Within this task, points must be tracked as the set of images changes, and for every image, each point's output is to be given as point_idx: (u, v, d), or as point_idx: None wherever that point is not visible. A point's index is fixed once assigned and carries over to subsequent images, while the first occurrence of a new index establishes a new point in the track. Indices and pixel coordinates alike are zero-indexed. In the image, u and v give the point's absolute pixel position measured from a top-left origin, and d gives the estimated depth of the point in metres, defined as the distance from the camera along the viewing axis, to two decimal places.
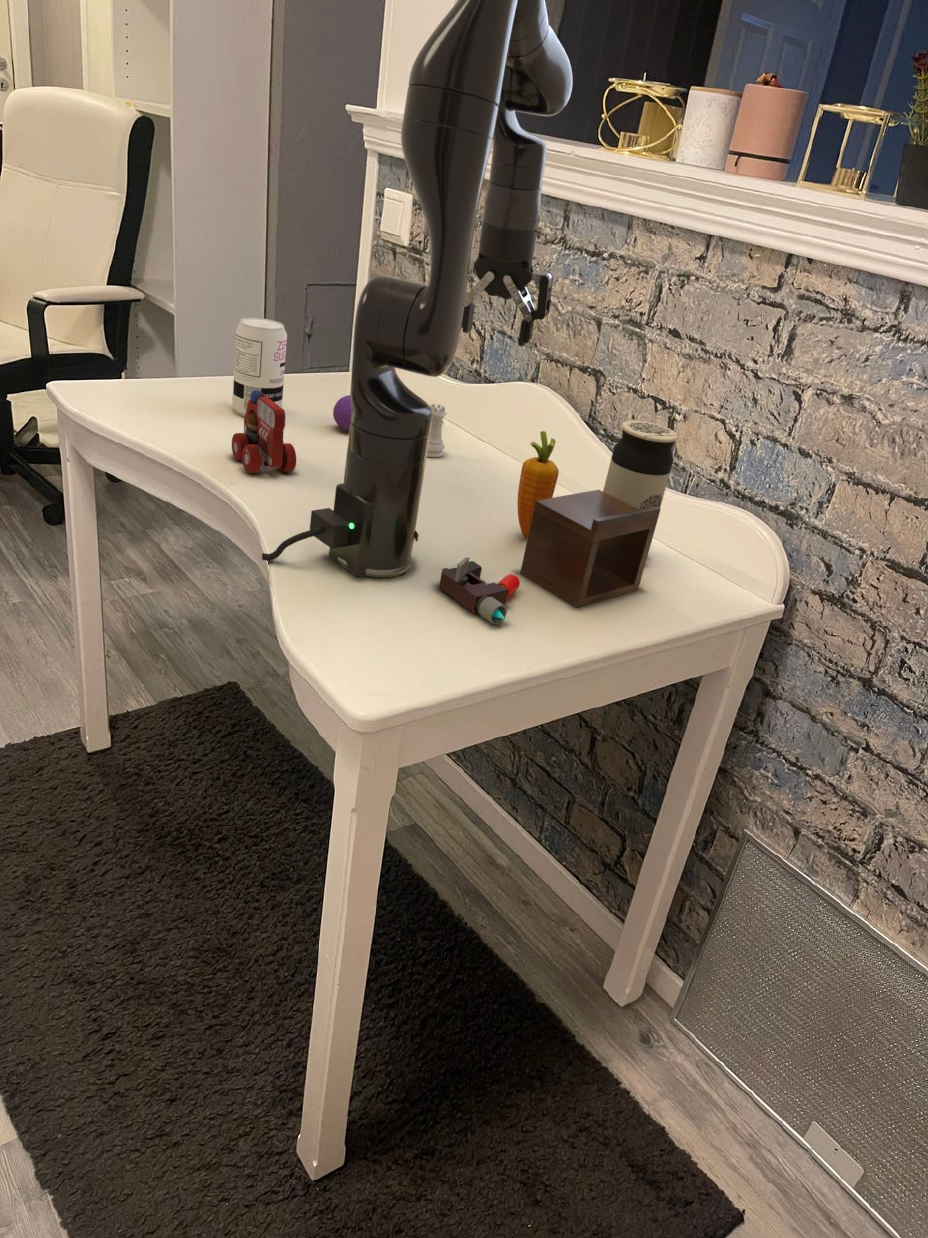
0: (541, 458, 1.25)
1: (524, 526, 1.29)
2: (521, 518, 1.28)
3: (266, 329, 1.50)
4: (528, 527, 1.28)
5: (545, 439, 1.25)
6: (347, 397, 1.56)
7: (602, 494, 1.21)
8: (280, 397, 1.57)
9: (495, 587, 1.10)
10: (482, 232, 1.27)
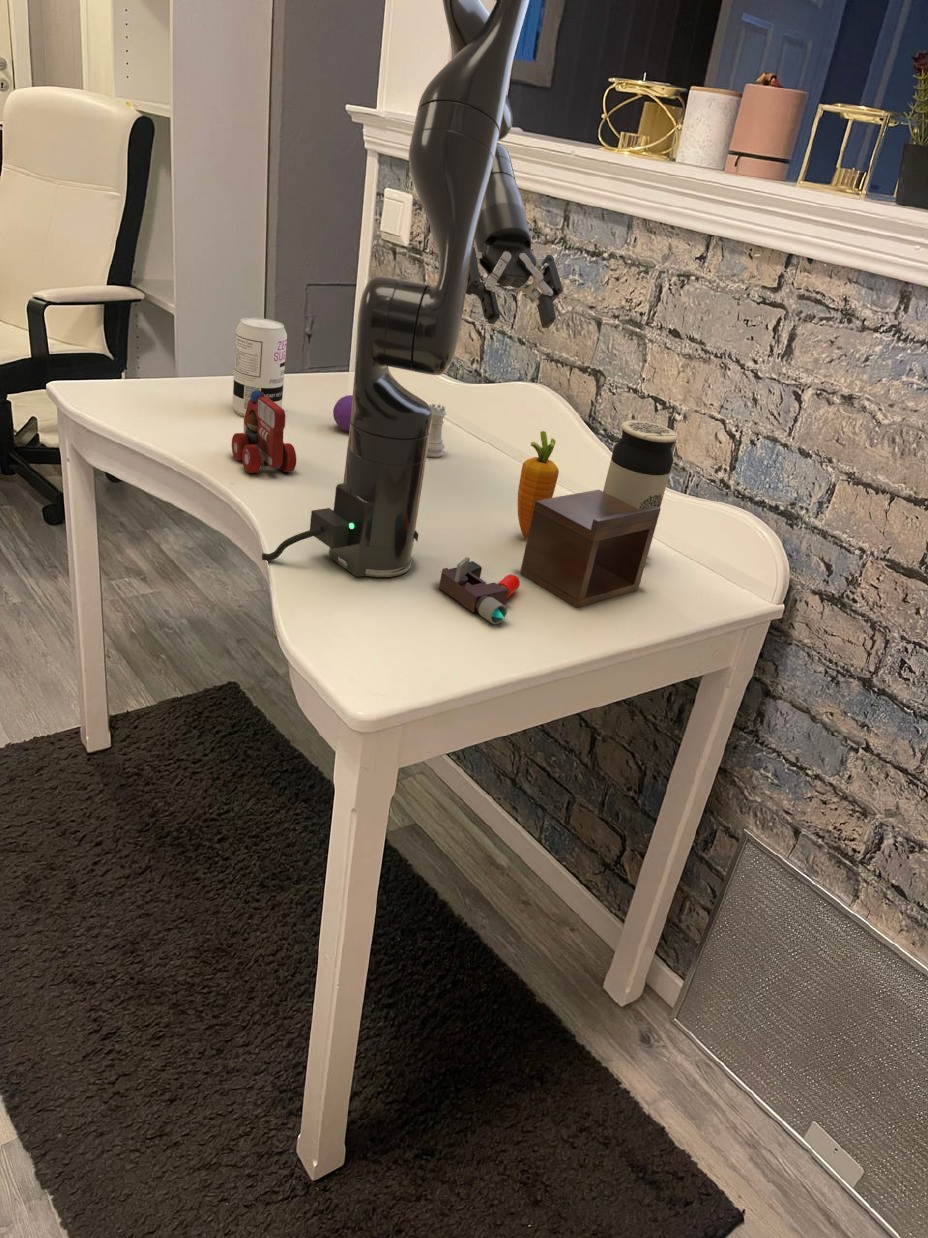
0: (541, 458, 1.25)
1: (524, 526, 1.29)
2: (521, 518, 1.28)
3: (266, 329, 1.50)
4: (528, 527, 1.28)
5: (545, 439, 1.25)
6: (347, 397, 1.56)
7: (602, 494, 1.21)
8: (280, 397, 1.57)
9: (495, 587, 1.10)
10: (488, 217, 1.27)
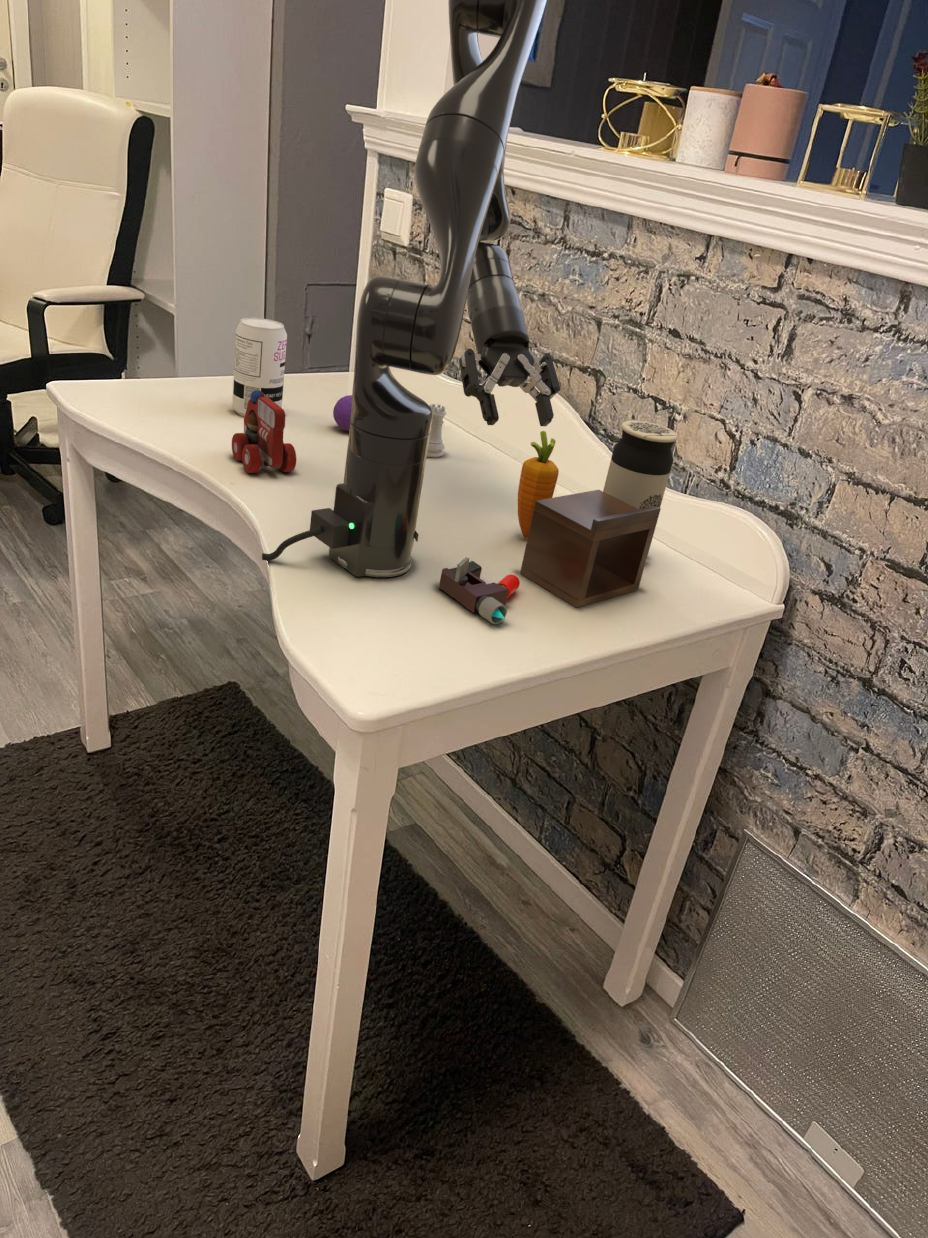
0: (541, 458, 1.25)
1: (524, 526, 1.29)
2: (521, 518, 1.28)
3: (266, 329, 1.50)
4: (528, 527, 1.28)
5: (545, 439, 1.25)
6: (347, 397, 1.56)
7: (602, 494, 1.21)
8: (280, 397, 1.57)
9: (495, 587, 1.10)
10: (487, 319, 1.29)
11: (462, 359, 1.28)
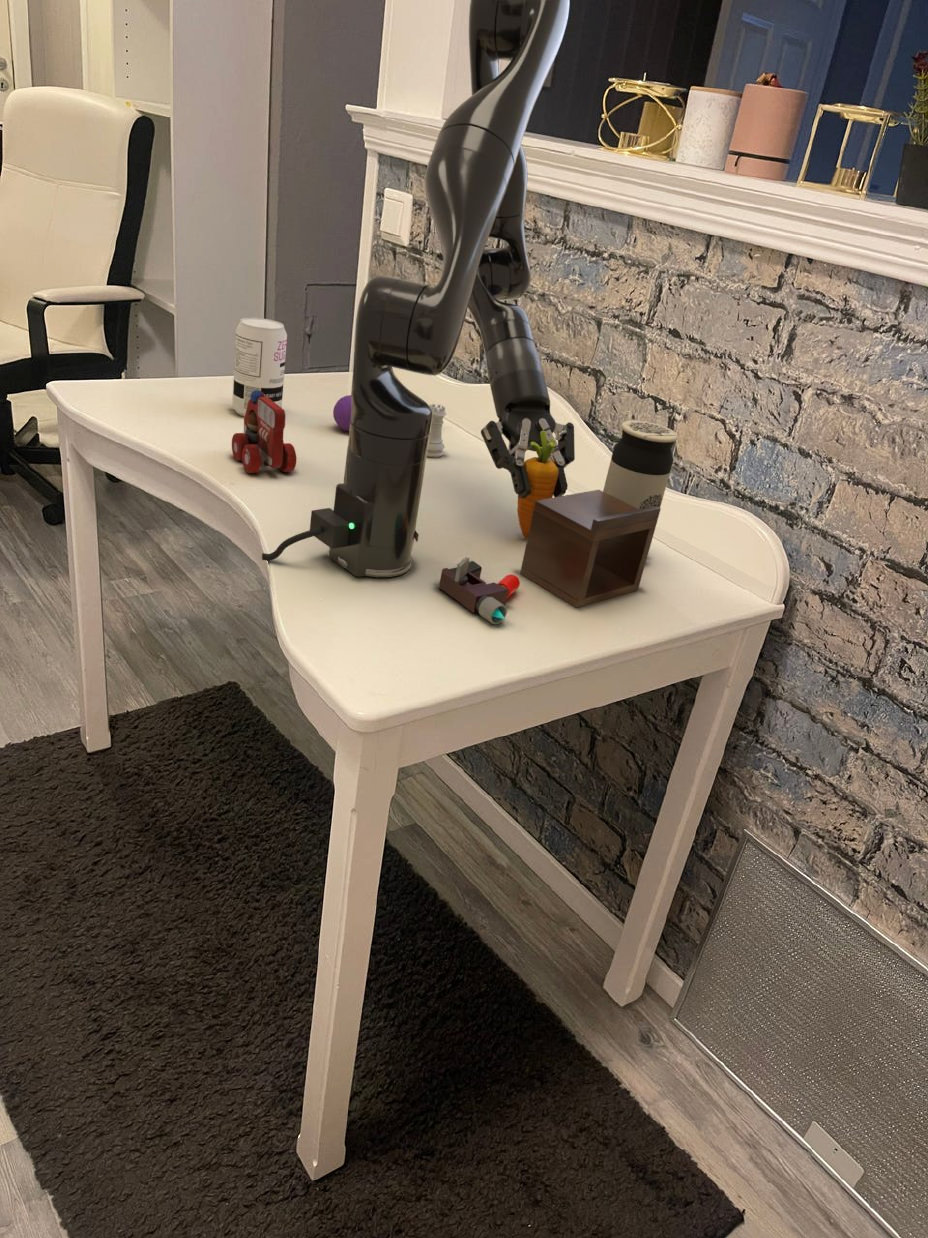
0: (541, 458, 1.25)
1: (524, 526, 1.29)
2: (521, 518, 1.28)
3: (266, 329, 1.50)
4: (528, 527, 1.28)
5: (545, 439, 1.25)
6: (347, 397, 1.56)
7: (602, 494, 1.21)
8: (280, 397, 1.57)
9: (495, 587, 1.10)
10: (507, 383, 1.26)
11: (485, 432, 1.25)
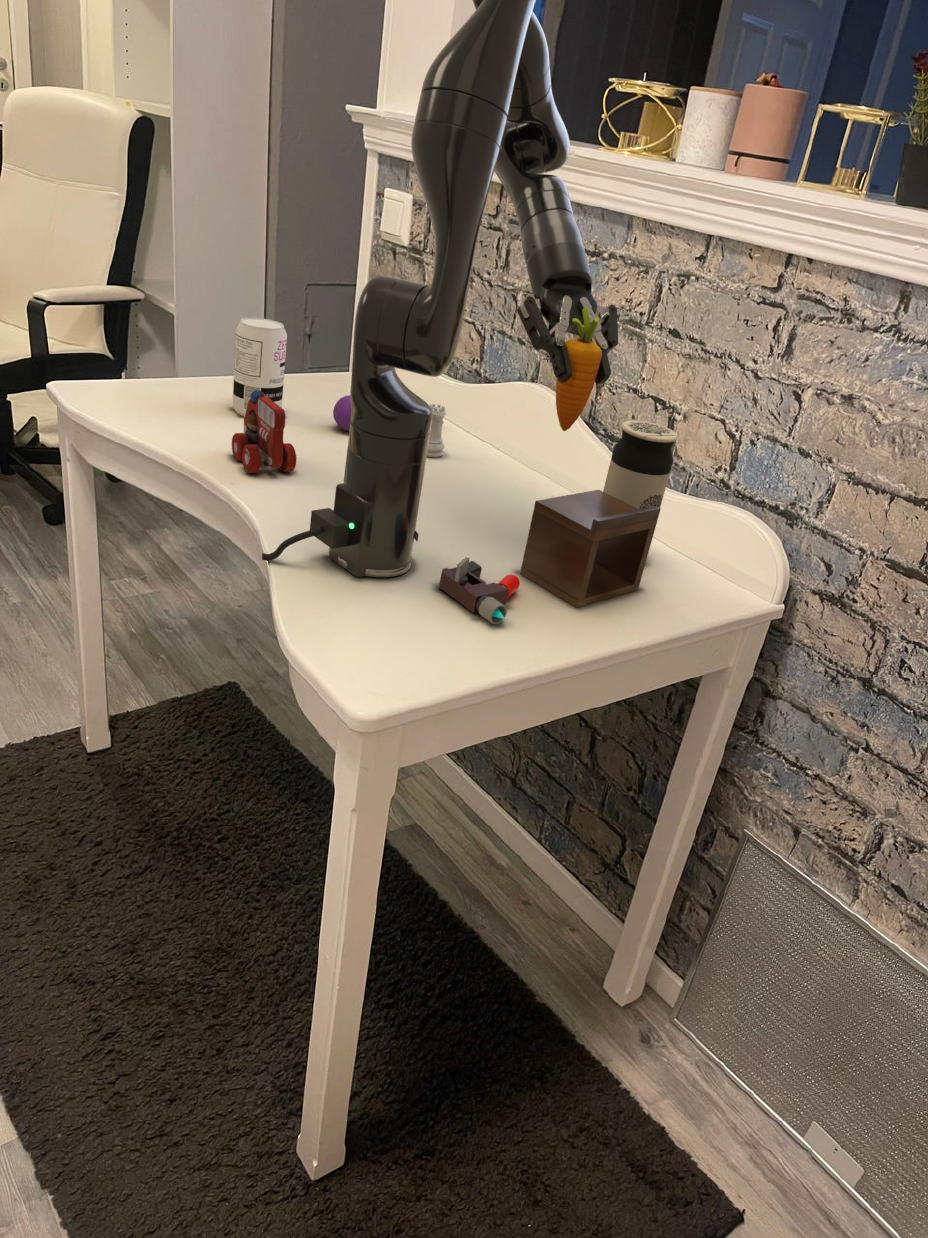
0: (583, 338, 1.14)
1: (563, 416, 1.18)
2: (560, 407, 1.17)
3: (266, 329, 1.50)
4: (567, 417, 1.18)
5: (588, 317, 1.14)
6: (347, 397, 1.56)
7: (602, 494, 1.21)
8: (280, 397, 1.57)
9: (495, 587, 1.10)
10: (546, 257, 1.15)
11: (522, 310, 1.14)
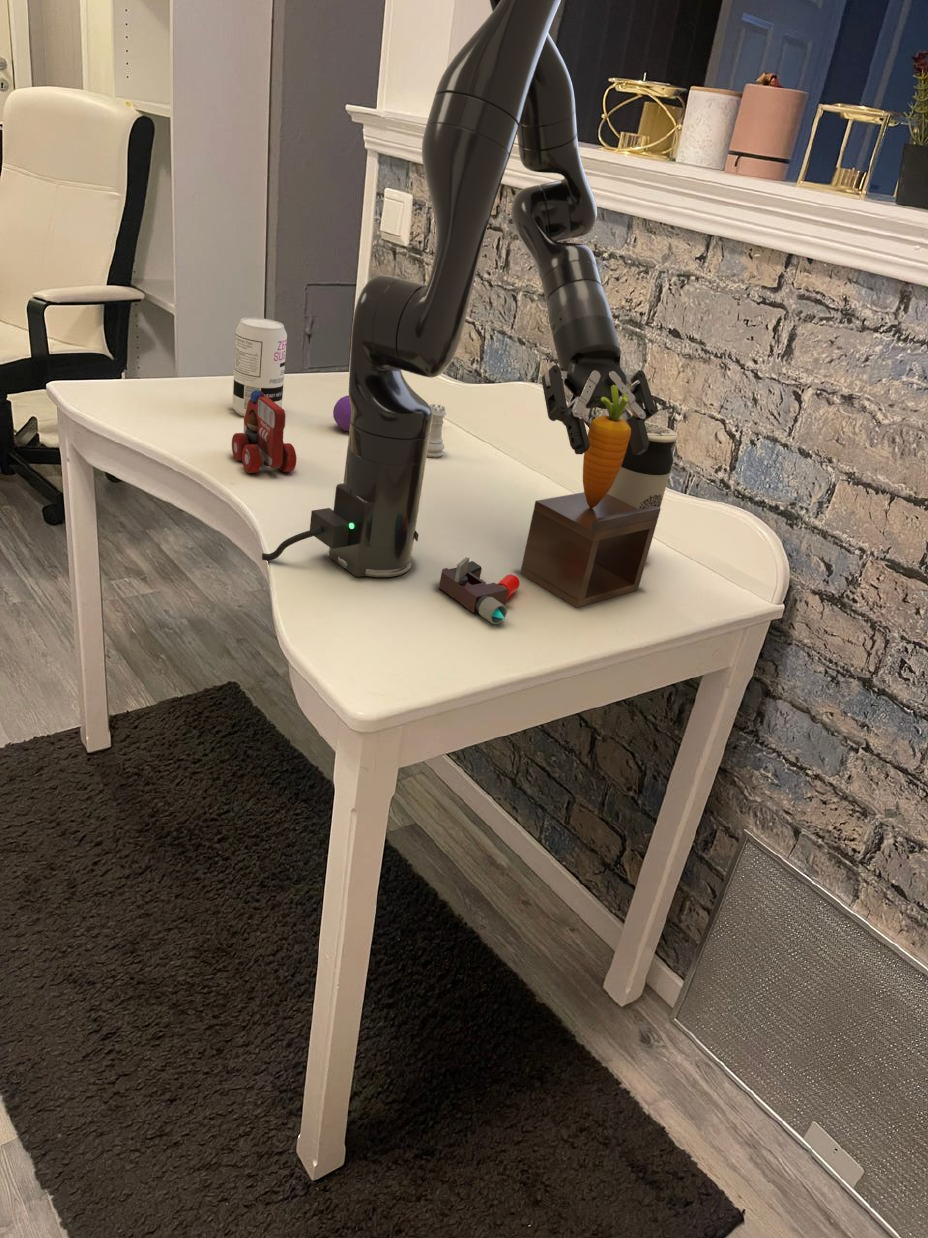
0: (612, 416, 1.10)
1: (590, 494, 1.14)
2: (587, 485, 1.14)
3: (266, 329, 1.50)
4: (595, 495, 1.14)
5: (616, 394, 1.10)
6: (347, 397, 1.56)
7: None
8: (280, 397, 1.57)
9: (495, 587, 1.10)
10: (574, 331, 1.11)
11: (546, 377, 1.10)
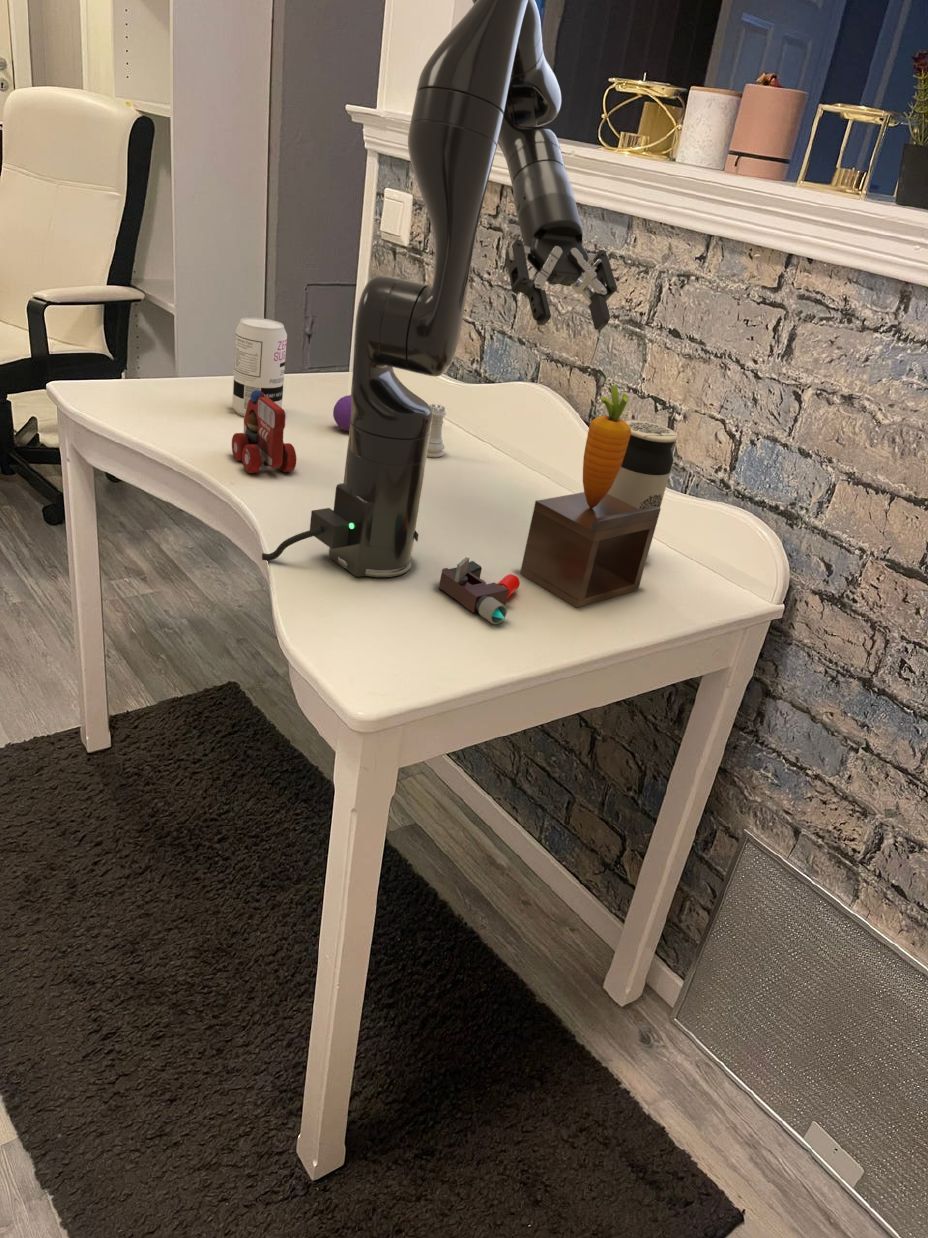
0: (612, 416, 1.10)
1: (590, 494, 1.14)
2: (587, 485, 1.14)
3: (266, 329, 1.50)
4: (595, 495, 1.14)
5: (616, 394, 1.10)
6: (347, 397, 1.56)
7: None
8: (280, 397, 1.57)
9: (495, 587, 1.10)
10: (537, 208, 1.16)
11: (509, 252, 1.15)
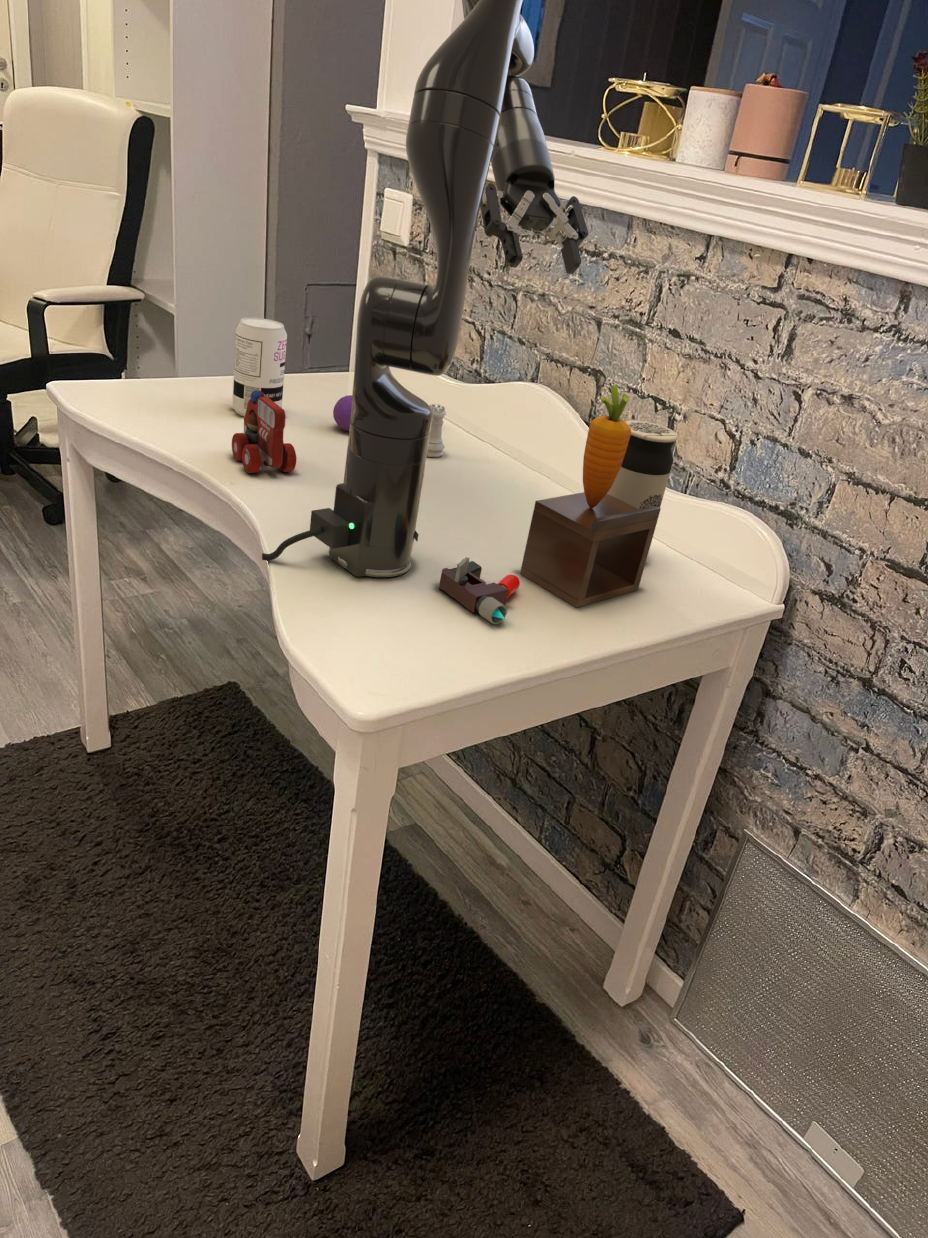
0: (612, 416, 1.10)
1: (590, 494, 1.14)
2: (587, 485, 1.14)
3: (266, 329, 1.50)
4: (595, 495, 1.14)
5: (616, 394, 1.10)
6: (347, 397, 1.56)
7: None
8: (280, 397, 1.57)
9: (495, 587, 1.10)
10: (510, 154, 1.19)
11: (482, 196, 1.18)
